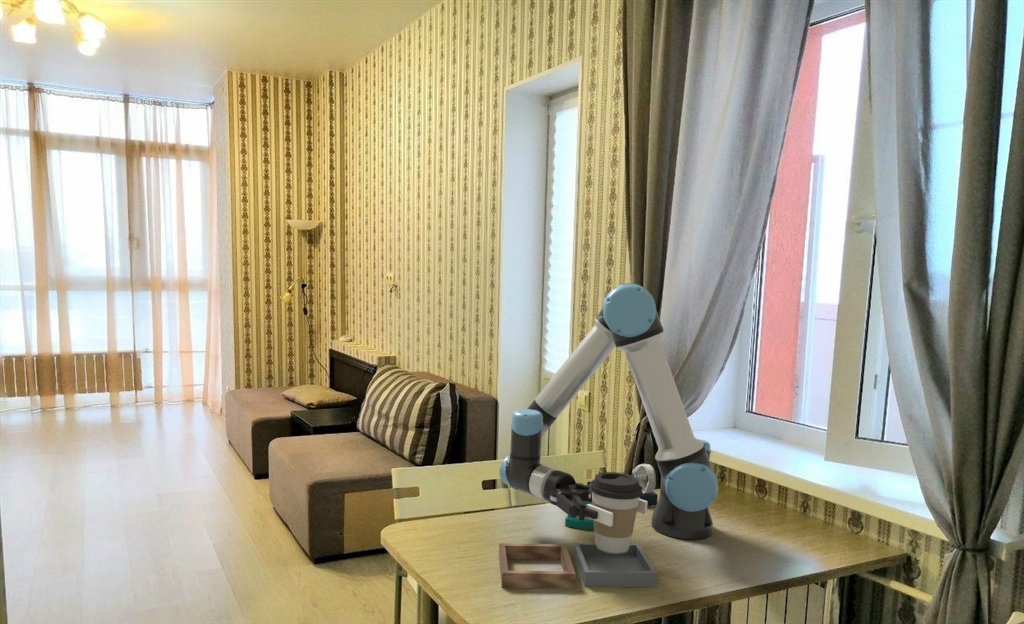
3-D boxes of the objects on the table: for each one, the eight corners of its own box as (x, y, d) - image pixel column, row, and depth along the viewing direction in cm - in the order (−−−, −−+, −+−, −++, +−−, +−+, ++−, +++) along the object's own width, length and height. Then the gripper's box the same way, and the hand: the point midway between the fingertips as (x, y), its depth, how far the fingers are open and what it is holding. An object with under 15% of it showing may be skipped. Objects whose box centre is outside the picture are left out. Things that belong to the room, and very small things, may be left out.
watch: (646, 498, 196) (648, 460, 195) (660, 507, 188) (662, 468, 188) (628, 499, 194) (630, 461, 194) (641, 509, 187) (644, 469, 186)
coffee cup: (614, 533, 155) (619, 468, 154) (650, 552, 145) (655, 483, 144) (574, 541, 149) (579, 473, 148) (609, 562, 139) (613, 490, 138)
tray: (638, 556, 155) (639, 543, 155) (656, 587, 140) (657, 573, 140) (573, 555, 154) (573, 542, 154) (584, 586, 139) (585, 572, 139)
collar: (564, 557, 153) (565, 544, 153) (574, 588, 138) (575, 574, 138) (498, 556, 152) (499, 543, 152) (501, 587, 137) (502, 573, 137)
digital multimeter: (600, 512, 184) (601, 501, 184) (593, 532, 170) (594, 520, 170) (573, 509, 186) (574, 498, 186) (564, 528, 172) (564, 516, 171)
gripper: (585, 491, 168) (660, 518, 152) (516, 512, 151) (592, 544, 136) (587, 461, 167) (662, 485, 152) (517, 478, 151) (594, 507, 135)
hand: (629, 513), depth 144 cm, fingers closed on coffee cup, 11 cm apart
